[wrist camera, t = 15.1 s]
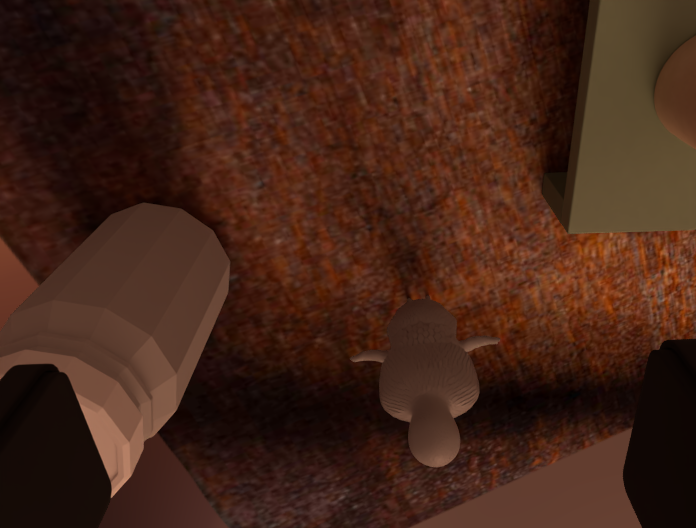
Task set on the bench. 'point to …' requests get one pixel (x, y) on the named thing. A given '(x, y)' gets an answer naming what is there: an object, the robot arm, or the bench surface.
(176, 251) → the jar
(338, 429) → the bench surface
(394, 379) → the figurine
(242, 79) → the bench surface
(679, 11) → the shelf
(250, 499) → the bench surface
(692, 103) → the candle
